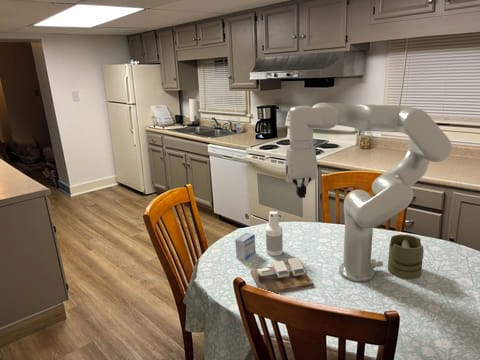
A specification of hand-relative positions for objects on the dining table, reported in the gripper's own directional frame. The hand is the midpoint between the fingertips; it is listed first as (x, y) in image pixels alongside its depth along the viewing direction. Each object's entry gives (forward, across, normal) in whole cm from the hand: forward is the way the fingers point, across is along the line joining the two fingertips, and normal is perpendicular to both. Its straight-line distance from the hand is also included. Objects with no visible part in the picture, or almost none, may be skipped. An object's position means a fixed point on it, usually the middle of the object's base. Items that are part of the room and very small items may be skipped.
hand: (301, 196), depth 126 cm
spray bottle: (+31, +4, -20) cm, 37 cm away
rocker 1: (+27, +14, 0) cm, 30 cm away
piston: (+31, -37, +8) cm, 49 cm away
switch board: (+31, +8, 0) cm, 32 cm away
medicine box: (+31, +16, -21) cm, 41 cm away
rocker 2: (+27, +2, 0) cm, 27 cm away
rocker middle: (+27, +8, 0) cm, 28 cm away
